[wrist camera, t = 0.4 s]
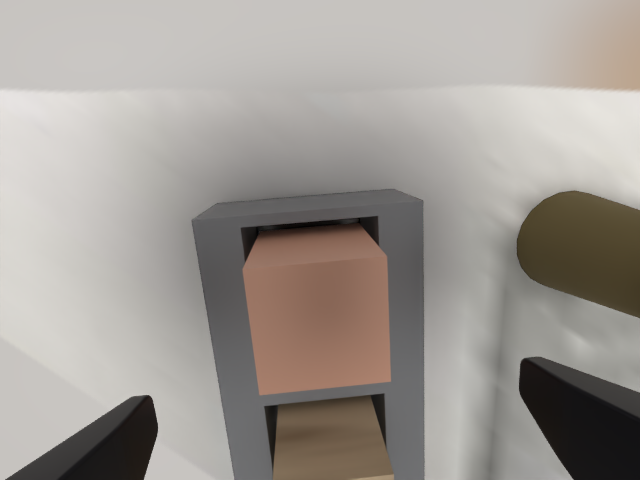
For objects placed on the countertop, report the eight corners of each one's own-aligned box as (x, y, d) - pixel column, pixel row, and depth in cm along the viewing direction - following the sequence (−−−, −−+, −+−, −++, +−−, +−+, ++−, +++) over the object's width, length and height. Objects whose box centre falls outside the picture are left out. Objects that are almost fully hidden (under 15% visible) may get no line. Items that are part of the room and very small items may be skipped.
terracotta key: (363, 313, 19) (390, 381, 13) (270, 322, 18) (259, 395, 13) (358, 222, 17) (386, 256, 12) (259, 231, 17) (242, 269, 12)
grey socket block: (399, 424, 24) (424, 492, 20) (251, 440, 24) (240, 513, 19) (393, 188, 21) (423, 200, 16) (217, 203, 20) (191, 220, 15)
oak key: (370, 455, 21) (396, 565, 15) (287, 464, 21) (284, 578, 15) (366, 383, 20) (393, 474, 14) (279, 392, 20) (271, 488, 14)
